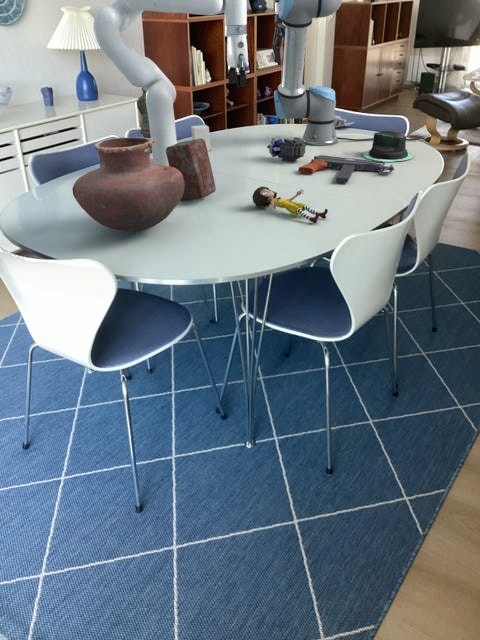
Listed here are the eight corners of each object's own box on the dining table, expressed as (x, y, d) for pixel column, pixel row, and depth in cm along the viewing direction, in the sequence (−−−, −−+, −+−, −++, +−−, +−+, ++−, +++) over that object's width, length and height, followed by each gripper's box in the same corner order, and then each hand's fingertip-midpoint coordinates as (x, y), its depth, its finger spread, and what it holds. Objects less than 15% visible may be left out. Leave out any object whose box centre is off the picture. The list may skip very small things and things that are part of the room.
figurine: (311, 212, 157) (243, 186, 169) (307, 236, 161) (241, 209, 173) (335, 200, 165) (269, 176, 178) (331, 223, 170) (266, 198, 182)
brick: (210, 150, 242) (209, 127, 237) (195, 152, 240) (194, 128, 235) (207, 147, 246) (205, 124, 241) (192, 149, 245) (191, 126, 240)
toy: (275, 134, 227) (308, 138, 220) (275, 155, 231) (307, 159, 224) (264, 138, 221) (297, 142, 214) (264, 160, 225) (297, 164, 218)
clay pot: (119, 206, 179) (108, 126, 166) (203, 217, 169) (199, 132, 156) (58, 240, 155) (40, 149, 142) (152, 255, 144) (142, 159, 132)
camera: (330, 99, 279) (356, 102, 271) (329, 123, 285) (354, 127, 277) (320, 101, 274) (346, 105, 265) (319, 126, 280) (344, 130, 271)
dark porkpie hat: (354, 155, 225) (369, 146, 240) (391, 182, 222) (404, 171, 237) (375, 123, 215) (389, 115, 230) (414, 151, 213) (426, 141, 228)
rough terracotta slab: (94, 159, 190) (189, 144, 170) (112, 152, 198) (205, 137, 178) (110, 208, 198) (203, 199, 177) (127, 200, 205) (218, 190, 185)
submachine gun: (291, 170, 202) (317, 154, 221) (291, 177, 204) (317, 161, 222) (376, 180, 189) (396, 162, 207) (375, 188, 190) (395, 170, 209)
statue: (170, 147, 247) (164, 74, 232) (162, 152, 239) (156, 77, 224) (146, 146, 250) (139, 74, 234) (138, 151, 242) (130, 77, 226)
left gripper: (254, 31, 183) (255, 87, 192) (238, 29, 197) (239, 81, 206) (233, 32, 181) (234, 89, 190) (218, 30, 195) (220, 83, 204)
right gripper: (301, 13, 245) (299, 66, 256) (280, 12, 265) (280, 61, 276) (285, 14, 243) (284, 66, 254) (266, 12, 264) (265, 61, 274)
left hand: (237, 85), depth 198 cm, fingers open, 9 cm apart
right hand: (282, 64), depth 265 cm, fingers open, 13 cm apart
